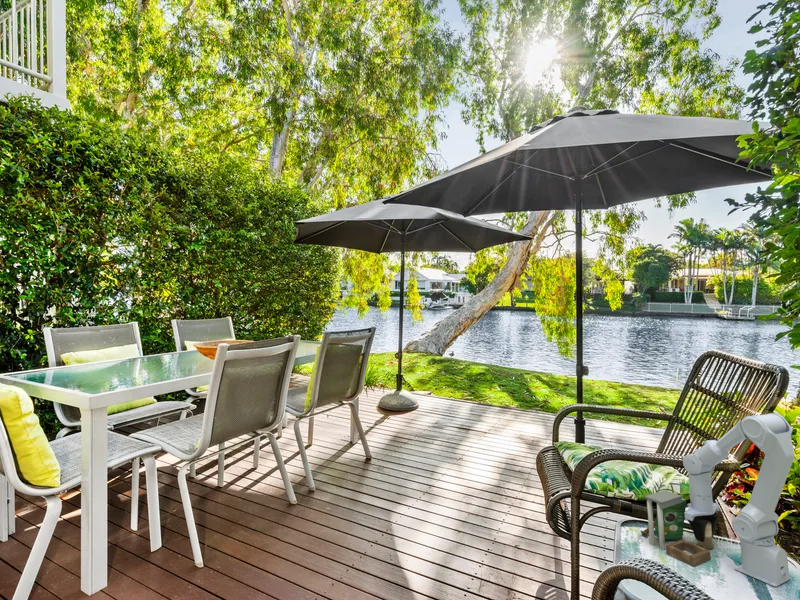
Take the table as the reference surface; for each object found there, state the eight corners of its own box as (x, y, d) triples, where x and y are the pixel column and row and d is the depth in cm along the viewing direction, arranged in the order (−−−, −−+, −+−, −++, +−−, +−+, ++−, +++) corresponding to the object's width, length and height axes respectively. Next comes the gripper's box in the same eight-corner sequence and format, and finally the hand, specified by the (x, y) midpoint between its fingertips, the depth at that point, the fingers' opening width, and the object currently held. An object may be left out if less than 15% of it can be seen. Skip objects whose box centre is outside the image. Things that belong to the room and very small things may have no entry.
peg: (715, 546, 131) (713, 523, 131) (708, 549, 129) (706, 526, 129) (701, 540, 134) (700, 518, 135) (694, 544, 133) (692, 520, 133)
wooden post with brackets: (665, 530, 141) (660, 518, 141) (650, 544, 139) (645, 532, 138) (660, 527, 143) (655, 516, 143) (645, 542, 140) (640, 530, 140)
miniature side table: (685, 543, 134) (681, 495, 135) (665, 551, 130) (661, 502, 131) (668, 536, 139) (664, 490, 140) (648, 543, 135) (644, 496, 136)
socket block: (711, 559, 125) (710, 550, 125) (694, 567, 121) (693, 557, 121) (682, 547, 132) (682, 538, 132) (666, 554, 128) (665, 545, 128)
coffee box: (676, 535, 139) (680, 495, 139) (683, 540, 136) (687, 499, 136) (653, 535, 138) (657, 494, 138) (660, 540, 135) (663, 498, 135)
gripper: (701, 485, 139) (704, 528, 138) (673, 493, 133) (676, 538, 132) (725, 492, 133) (728, 537, 132) (697, 501, 127) (700, 549, 126)
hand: (704, 538), depth 132 cm, fingers closed on peg, 4 cm apart
